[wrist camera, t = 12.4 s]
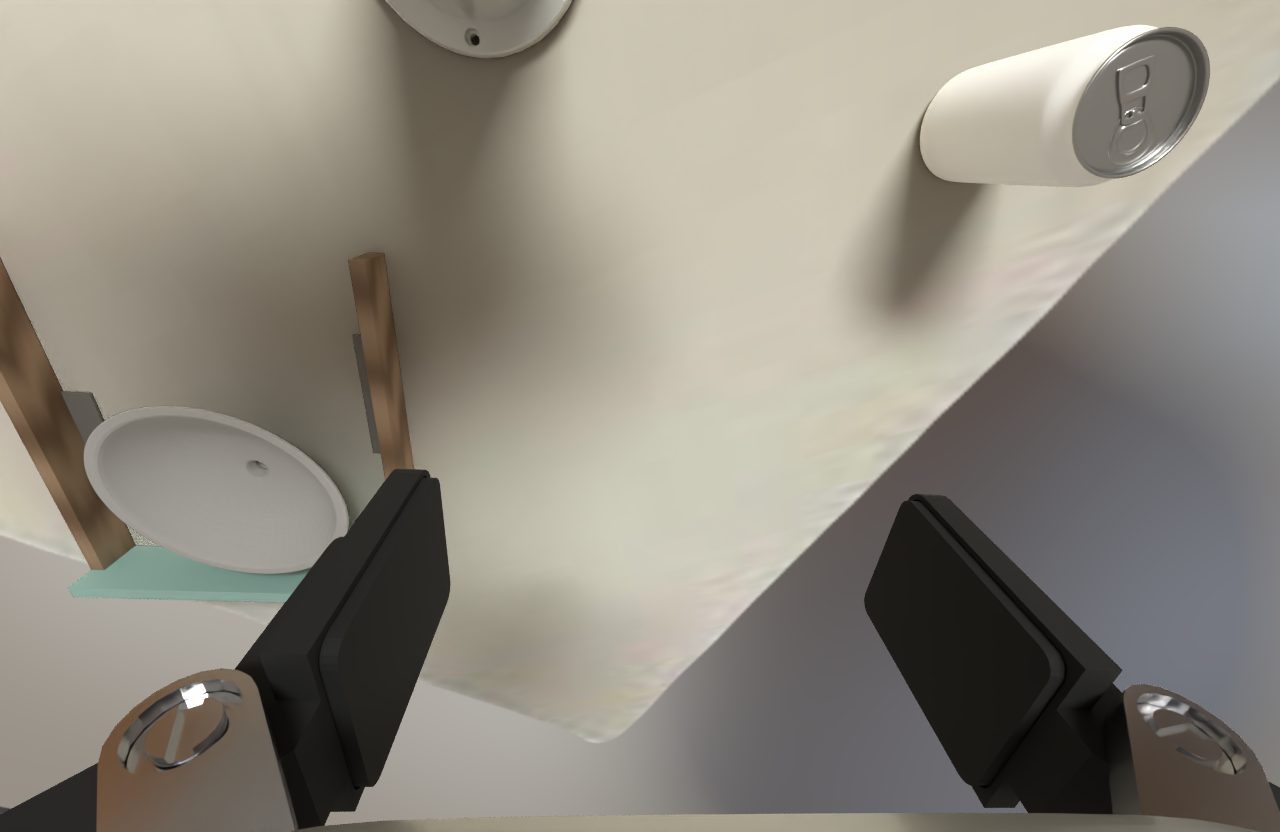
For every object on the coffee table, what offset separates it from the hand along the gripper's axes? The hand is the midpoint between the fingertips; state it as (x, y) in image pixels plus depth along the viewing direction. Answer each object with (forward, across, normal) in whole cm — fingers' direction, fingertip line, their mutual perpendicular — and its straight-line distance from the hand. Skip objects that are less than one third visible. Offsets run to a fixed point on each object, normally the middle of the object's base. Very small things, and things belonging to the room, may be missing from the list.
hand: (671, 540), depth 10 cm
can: (+28, -21, -11) cm, 37 cm away
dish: (+29, +29, +18) cm, 44 cm away
